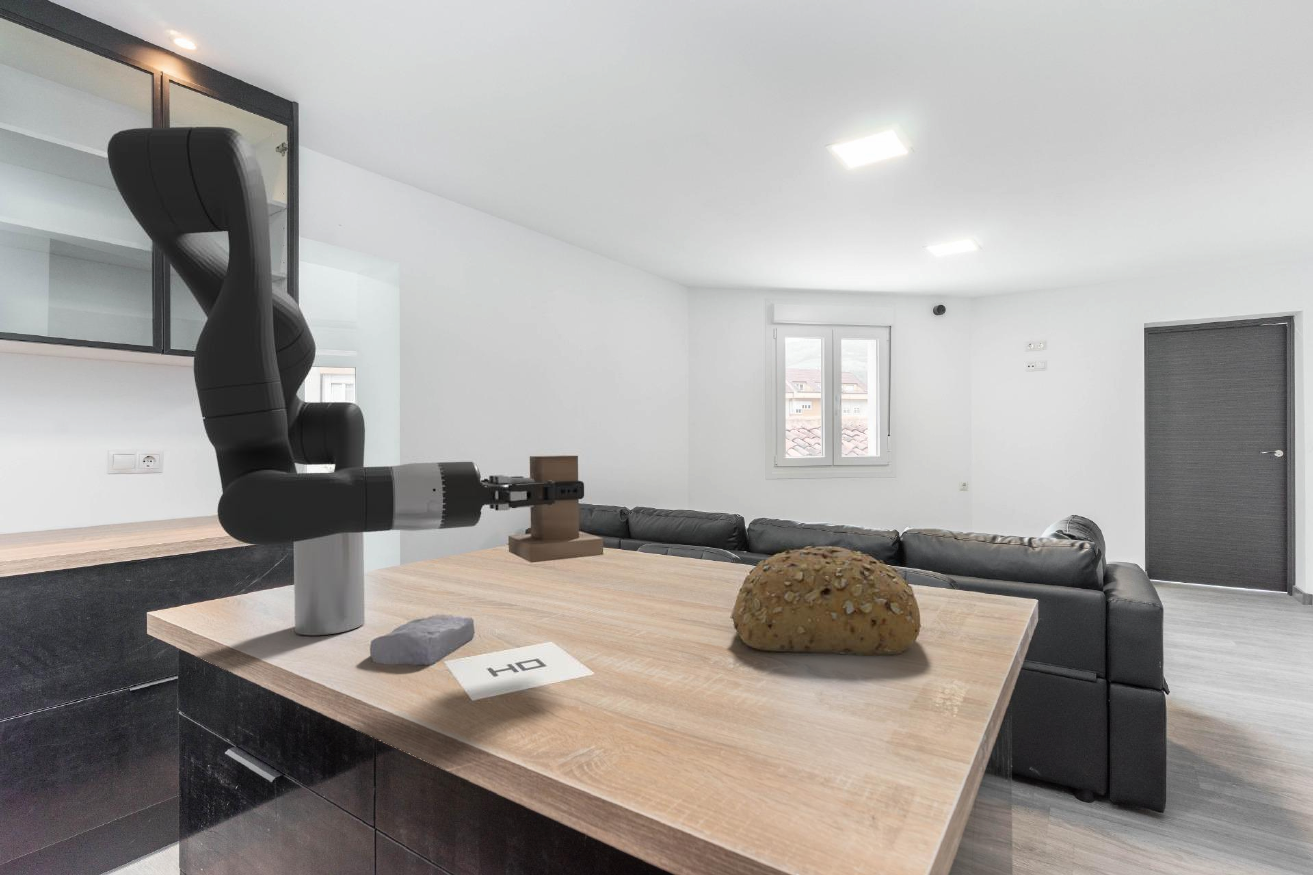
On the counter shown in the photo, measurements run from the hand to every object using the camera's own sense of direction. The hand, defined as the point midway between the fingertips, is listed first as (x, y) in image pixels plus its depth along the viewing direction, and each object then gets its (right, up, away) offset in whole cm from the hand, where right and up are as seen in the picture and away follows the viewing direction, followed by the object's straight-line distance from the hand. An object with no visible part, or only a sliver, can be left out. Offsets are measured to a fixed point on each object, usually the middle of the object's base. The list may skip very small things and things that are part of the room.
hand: (574, 488), depth 81 cm
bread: (+33, -21, +7) cm, 39 cm away
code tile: (-6, -21, -4) cm, 22 cm away
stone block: (-20, -22, +3) cm, 30 cm away
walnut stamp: (-2, -8, -1) cm, 8 cm away
